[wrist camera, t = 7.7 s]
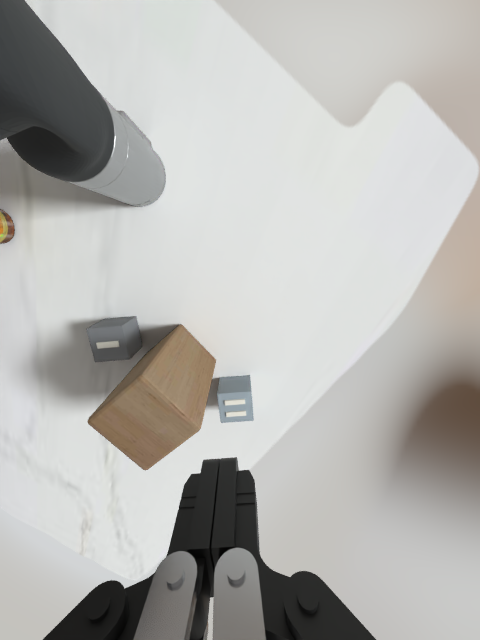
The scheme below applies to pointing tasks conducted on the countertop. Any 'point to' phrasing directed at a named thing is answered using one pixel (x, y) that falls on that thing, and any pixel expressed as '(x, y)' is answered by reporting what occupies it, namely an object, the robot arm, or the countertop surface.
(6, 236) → the sauce bottle
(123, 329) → the charcoal marked block
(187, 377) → the wooden block
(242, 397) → the slate marked block
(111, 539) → the countertop surface
